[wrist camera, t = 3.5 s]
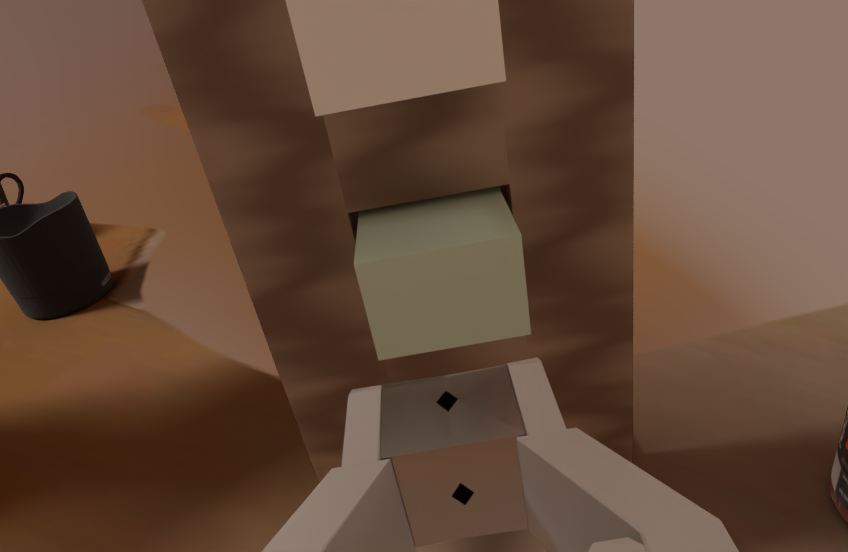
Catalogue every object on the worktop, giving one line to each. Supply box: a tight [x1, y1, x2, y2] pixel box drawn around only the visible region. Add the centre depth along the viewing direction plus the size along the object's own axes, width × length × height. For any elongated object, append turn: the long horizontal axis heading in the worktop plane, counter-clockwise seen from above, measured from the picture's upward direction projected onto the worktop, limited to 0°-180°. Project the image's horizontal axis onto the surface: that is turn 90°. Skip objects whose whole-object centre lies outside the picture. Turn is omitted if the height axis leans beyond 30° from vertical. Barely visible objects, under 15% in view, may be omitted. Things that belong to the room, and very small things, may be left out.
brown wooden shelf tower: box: [142, 0, 634, 552], centre depth 22 cm, size 15×12×34 cm
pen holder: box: [0, 191, 113, 320], centre depth 59 cm, size 9×9×10 cm
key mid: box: [354, 186, 531, 361], centre depth 21 cm, size 5×6×4 cm
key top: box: [285, 0, 506, 117], centre depth 17 cm, size 5×6×4 cm
